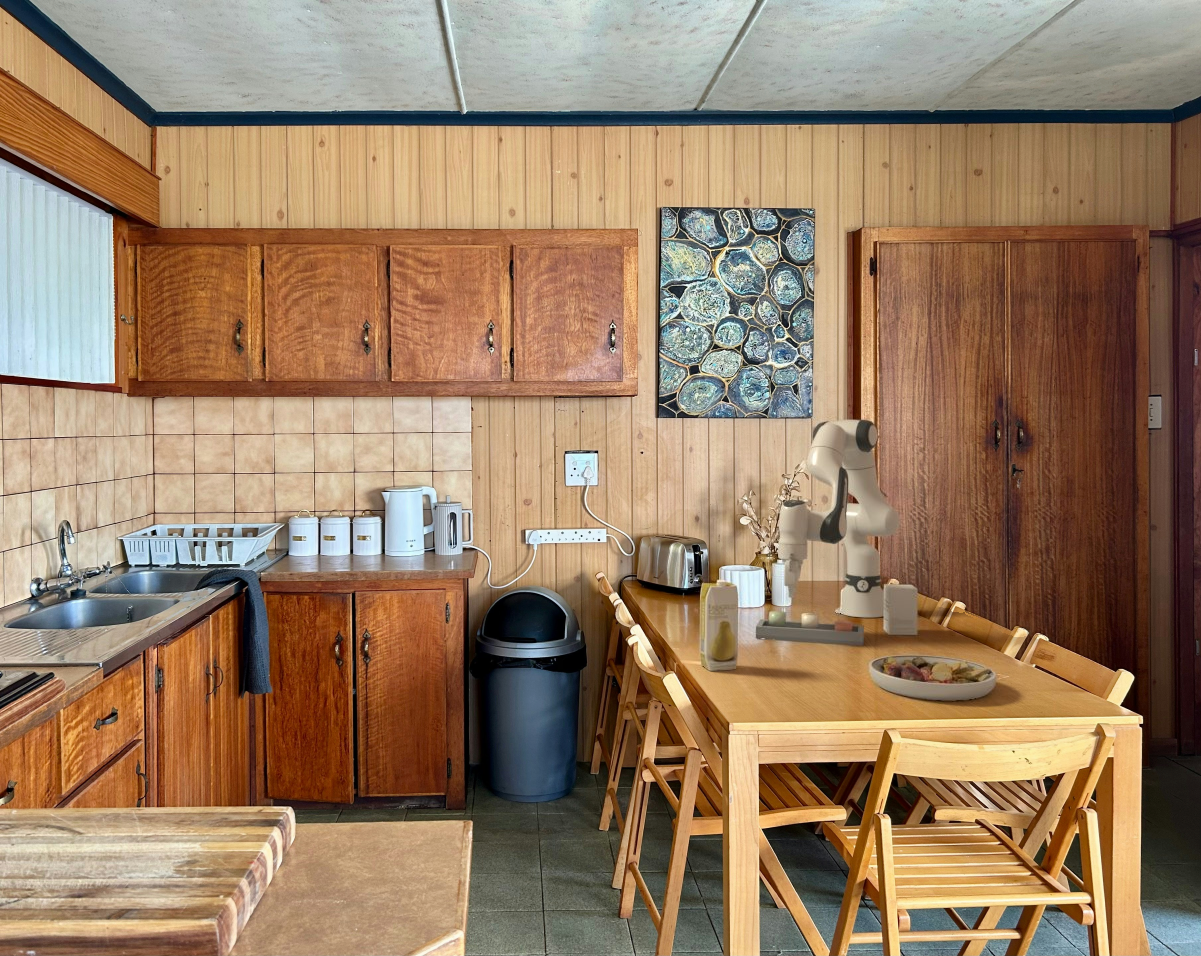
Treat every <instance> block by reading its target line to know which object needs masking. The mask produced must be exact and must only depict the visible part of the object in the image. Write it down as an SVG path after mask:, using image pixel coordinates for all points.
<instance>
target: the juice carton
mask: <svg viewBox="0 0 1201 956" xmlns="http://www.w3.org/2000/svg"><path fill="white" fill-rule="evenodd" d="M699 596H700V597H699V598H700V599H699V660H700V665H701V667H703V666H704V667H705V668H704V667H703V668H704V669H706V670H707V671H709V672H716V671H717V672H718V670H719V671H730V670H731V671H732V670H733V669H734V670H736V669H737V664H738V654H739V650H738V649H739V647H738V646H739V592H738V586H737V585H736V584H734V583H732V582H728V581H727V580H725V579H716V583H709V582H702V584H701V588H700V595H699Z"/></svg>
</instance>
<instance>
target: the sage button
mask: <svg viewBox="0 0 1201 956" xmlns="http://www.w3.org/2000/svg"><path fill="white" fill-rule="evenodd" d="M768 620H769V626H773V627H785V626H786V621H787V612H786V611H781V610H780V611H779V610H776V611H775V610H773V611H771V610H770V611H769V612H768Z"/></svg>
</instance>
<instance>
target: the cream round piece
mask: <svg viewBox="0 0 1201 956" xmlns="http://www.w3.org/2000/svg"><path fill="white" fill-rule="evenodd" d="M801 622H802V628H805V629H818V628H819V623H820V615H819V613H813V612H804V613H801Z"/></svg>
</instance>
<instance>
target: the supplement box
mask: <svg viewBox="0 0 1201 956" xmlns="http://www.w3.org/2000/svg"><path fill="white" fill-rule="evenodd" d="M883 591H884V616H883V630H884V631H885V632H886V633H887V634H888V635H891V636H917V635H918V601H919V600H918V597H919V596H918V591H919V589H918V587H915V586H914V585H912V584H894V583H893V584H891V583H890V584H889V583H888V584H886V583H884V584H883Z"/></svg>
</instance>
